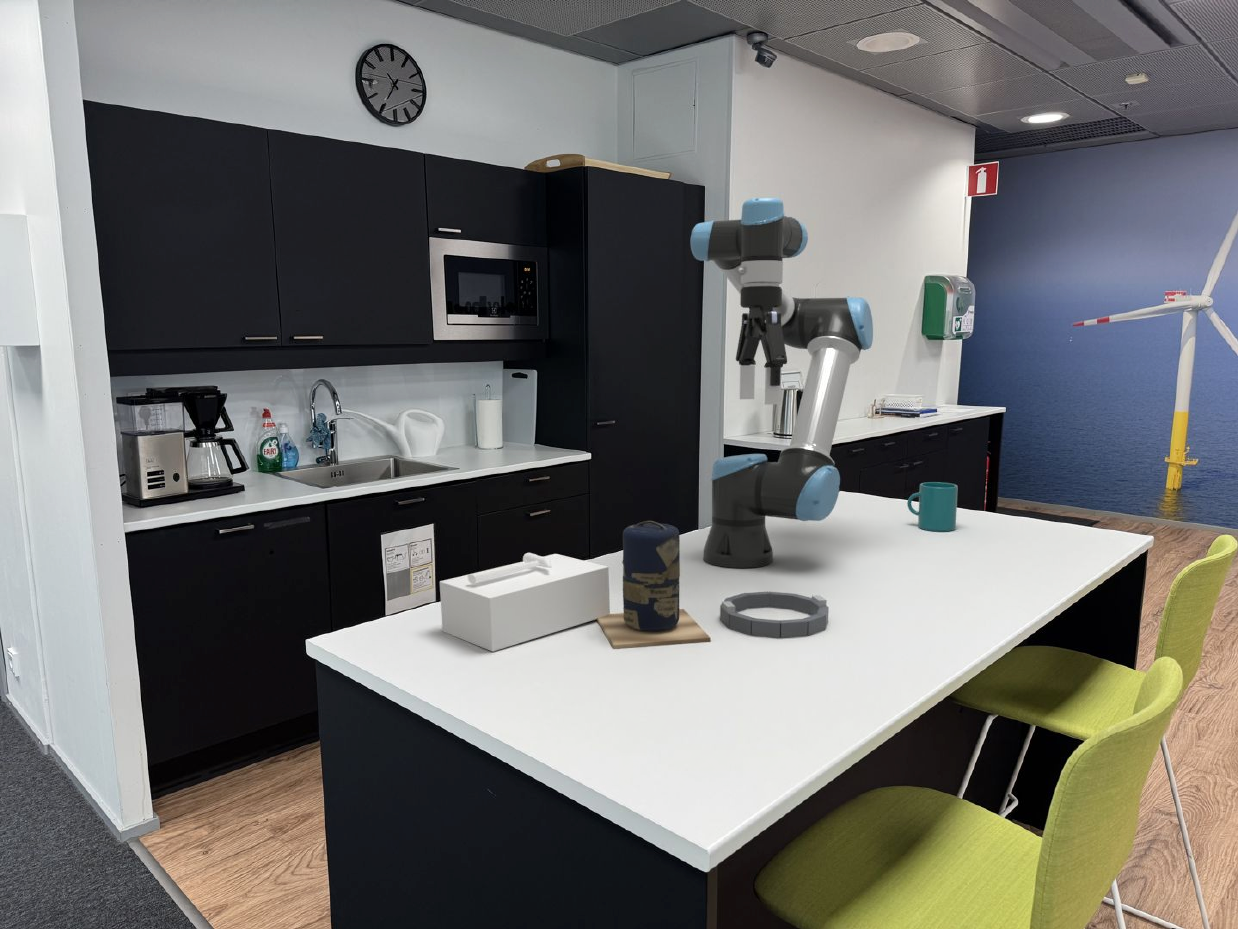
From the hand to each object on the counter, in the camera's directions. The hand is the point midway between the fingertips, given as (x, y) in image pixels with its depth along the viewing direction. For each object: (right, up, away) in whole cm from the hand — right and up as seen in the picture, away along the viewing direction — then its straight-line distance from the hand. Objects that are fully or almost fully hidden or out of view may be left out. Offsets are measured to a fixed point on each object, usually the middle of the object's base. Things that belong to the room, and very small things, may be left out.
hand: (759, 401), depth 170 cm
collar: (+1, -39, -12) cm, 41 cm away
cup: (+53, -28, +63) cm, 87 cm away
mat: (-21, -40, -16) cm, 48 cm away
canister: (-21, -39, -16) cm, 47 cm away
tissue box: (-42, -39, -14) cm, 59 cm away
